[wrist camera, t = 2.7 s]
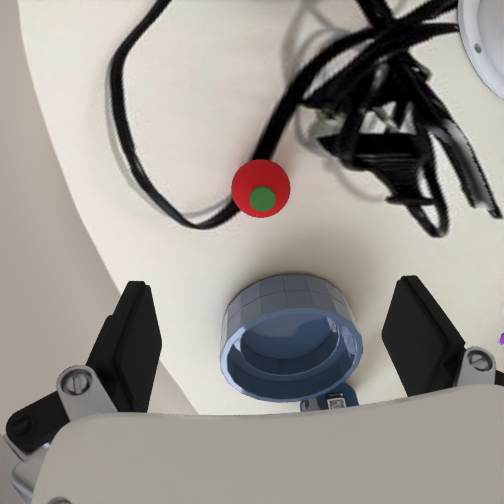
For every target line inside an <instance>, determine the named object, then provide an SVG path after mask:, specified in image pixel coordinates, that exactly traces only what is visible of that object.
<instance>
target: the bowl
mask: <svg viewBox="0 0 504 504" xmlns="http://www.w3.org/2000/svg"><path fill="white" fill-rule="evenodd" d="M362 353H363V345H362V336H361V334H360V331H359V329H358V326H357V324H356V321H355V319H354V316H353V314H352V311H351V309H350V306H349V304H348V302H347V301H346V299H345V298H344V296H343V295H342V293H341V292H340V291H339V290H338V289H337V288H335V287H334V286H332V285H331V284H329V283H328V282H327V281H325V280H322V279H319V278H315V277H312V276H308V275H279V276H275V277H272V278H268V279H264V280H261V281H259V282H257V283H255V284H253V285H252V286H250V287H248V288H247V289H245V290H243V291H242V292H241V293H240V294H239V295H238V296H237V297H236V298H235V299H234V300H233V301H232V303H231V304H230V305H229V306H228V308H227V311H226V314H225V316H224V319H223V322H222V336H221V350H220V362H221V371H222V373H223V375H224V376H225V378H226V379H227V381H228V383H229V384H230V385H231V386H233V387H234V388H235V389H237V390H238V391H239V392H241V393H242V394H245V395H247V396H250V397H252V398H255V399H257V400H262V401H269V402H277V403H281V402H297V401H302V400H306V399H310V398H314V397H317V396H319V395H322V394H324V393H326V392H328V391H331V390H332V389H334V388H336V387H337V386H338V385H340V384H341V383H342V382H344V381H345V380H346V379H348V377H349V376H350V375H351V374H352V373H353V371H354V370H355V369H356V368H357V366H358V364H359V361H360V359H361V356H362Z"/></svg>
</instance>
